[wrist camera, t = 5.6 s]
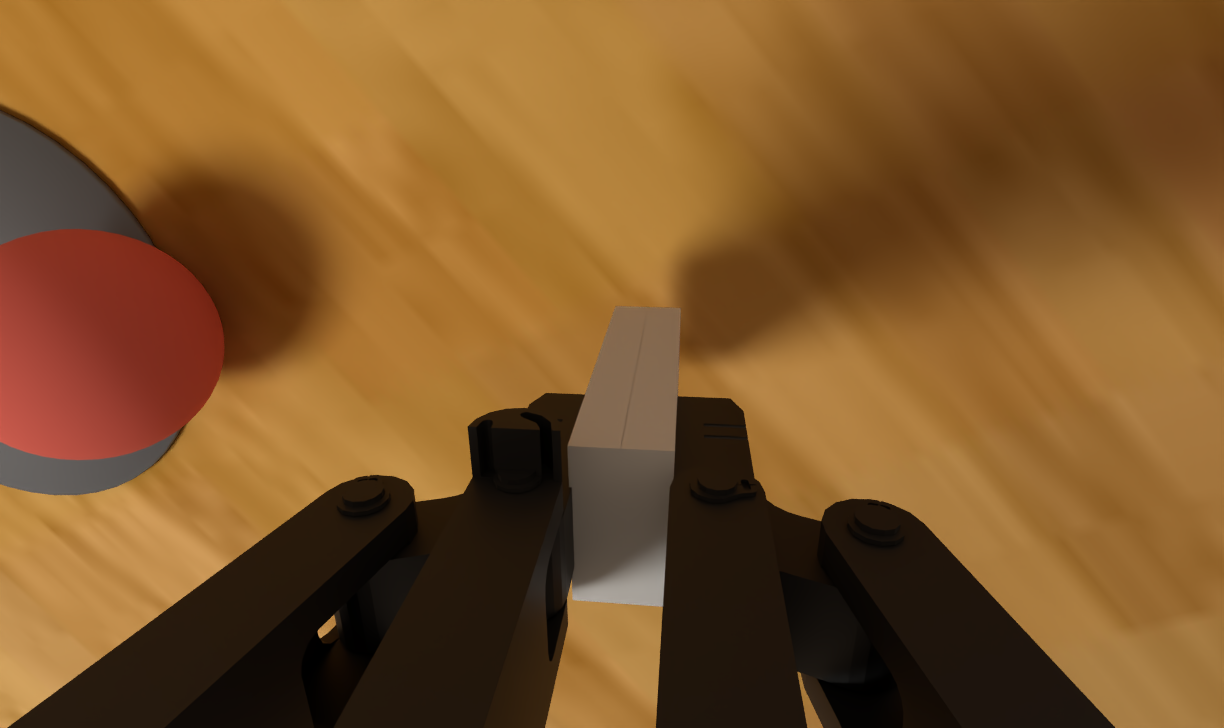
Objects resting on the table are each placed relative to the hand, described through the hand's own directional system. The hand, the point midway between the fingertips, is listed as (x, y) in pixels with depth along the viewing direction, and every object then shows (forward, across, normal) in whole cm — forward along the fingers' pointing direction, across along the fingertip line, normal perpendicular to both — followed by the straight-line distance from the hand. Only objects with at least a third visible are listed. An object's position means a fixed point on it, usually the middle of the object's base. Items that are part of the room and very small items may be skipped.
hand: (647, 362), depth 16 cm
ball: (-1, +13, 0) cm, 13 cm away
